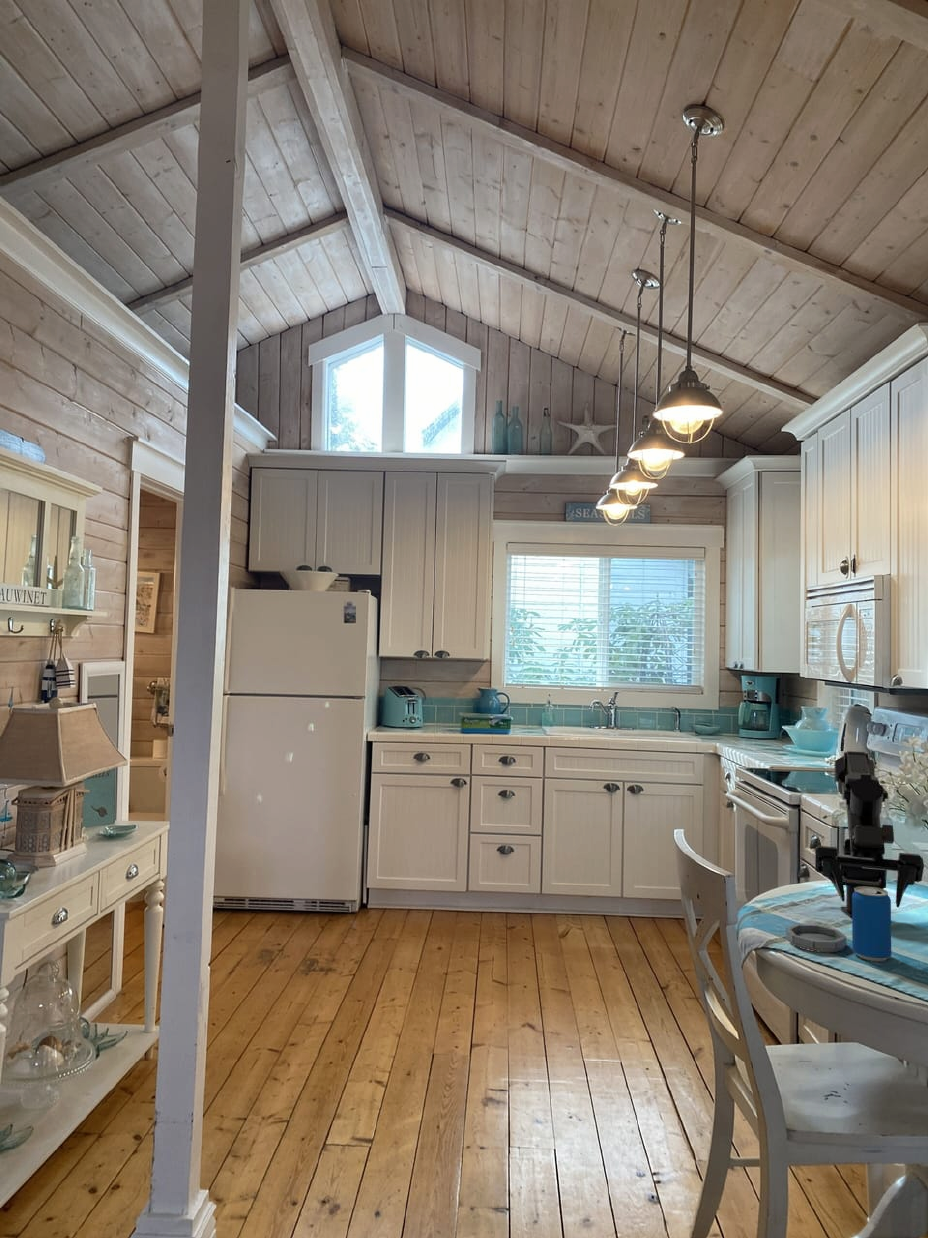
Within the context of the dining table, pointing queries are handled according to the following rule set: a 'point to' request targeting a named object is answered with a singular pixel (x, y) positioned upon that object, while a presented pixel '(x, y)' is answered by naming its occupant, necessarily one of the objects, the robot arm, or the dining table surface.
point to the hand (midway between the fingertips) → (870, 903)
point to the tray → (816, 937)
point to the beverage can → (871, 923)
